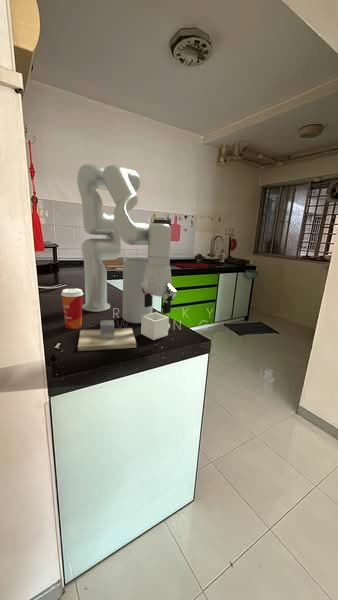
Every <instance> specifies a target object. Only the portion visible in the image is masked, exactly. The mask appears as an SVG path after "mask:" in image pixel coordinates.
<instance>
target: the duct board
mask: <svg viewBox="0 0 338 600" xmlns="http://www.w3.org/2000/svg"><path fill="white" fill-rule="evenodd" d="M132 348H133V349H134V348H135V349H136V348H137V340H136V338H135V334H134V331H133V327H124V328H114V339H101V328H98V329H96V328H95V329H80V331H79V337H78V343H77V352H84V351H85V352H86V351H100V350H101V351H103V350H117V349H118V350H119V349H132Z"/></svg>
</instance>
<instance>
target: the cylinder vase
mask: <svg viewBox="0 0 338 600" xmlns="http://www.w3.org/2000/svg"><path fill="white" fill-rule="evenodd" d="M147 262H148V259H147V258H144V257H143V258H142V257H128V258H127V257H126V258H123V260H122V319H123V320H124V321H125V322H127V323H129V324H130V323H131V324H141V323H142V316H143V315H147V314H151V313H153V306H154V305H153V304H154V295H152V294H151V295H152V306H150V307H144V302H145V296H144V295H143V294H144V293H143V291H142V286H141V283H142V282H144V273H145V268H146V265H147Z"/></svg>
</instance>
